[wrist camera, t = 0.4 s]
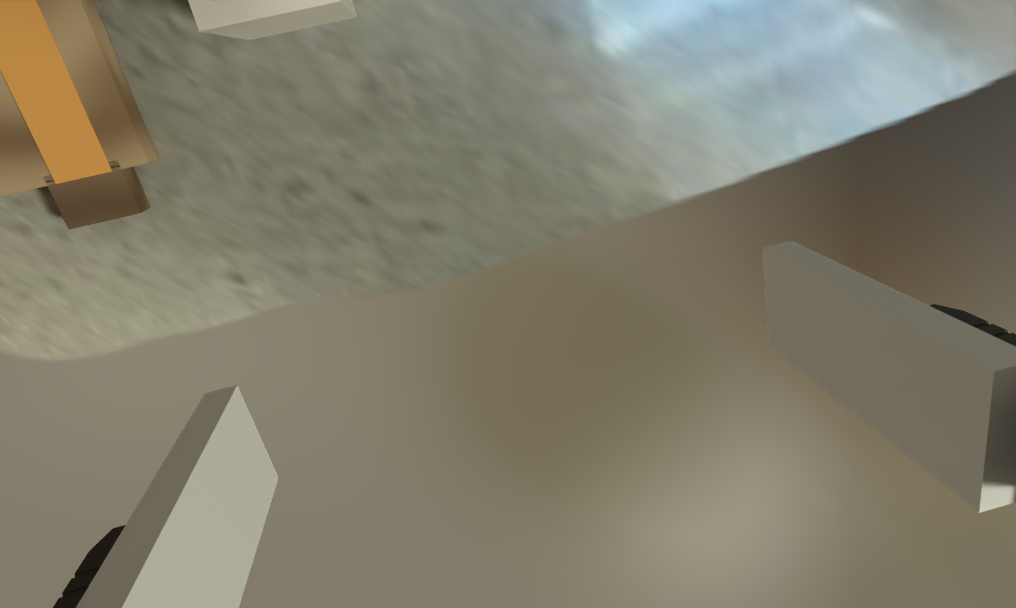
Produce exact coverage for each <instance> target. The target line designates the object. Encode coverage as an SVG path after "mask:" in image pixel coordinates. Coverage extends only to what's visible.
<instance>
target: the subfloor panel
mask: <svg viewBox="0 0 1016 608" xmlns="http://www.w3.org/2000/svg"><path fill="white" fill-rule="evenodd" d="M158 159H159V158H158V156H157V153H156V151H155V149H154V146H153V144H152V141H151V139H150V137H149V134H148V132H147V129H146V127H145V125H144V122H143V120H142V117H141V115H140V112H139V110H138V108H137V105H136V103H135V100H134V98H133V96H132V93H131V91H130V88H129V86H128V83H127V81H126V79H125V76H124V74H123V71H122V69H121V67H120V64H119V62H118V59H117V57H116V54H115V52H114V50H113V47H112V45H111V42H110V40H109V38H108V35H107V33H106V30H105V28H104V25H103V23H102V21H101V18H100V16H99V13H98V11H97V9H96V6H95V4H94V1H93V0H0V197H1V196H5V195H9V194H14V193H18V192H23V191H27V190H32V189H36V188H40V187H45V186H48V188H49V190H50V192H51V194H52V196H53V198H54V200H55V202H56V204H57V206H58V209H59V211H60V213H61V215H62V217H63V219H64V221H65V223H66V225H67V227H68V229H73V228H77V227H82V226H86V225H90V224H95V223H99V222H103V221H108V220H112V219H116V218H121V217H125V216H129V215H134V214H138V213H141V212H143V211H145V210H147V209H149V208H150V205H149V202H148V200H147V198H146V195H145V193H144V191H143V188H142V186H141V184H140V181H139V179H138V177H137V174H136V172H135V170H134V167H133V166H138V165H142V164H147V163H150V162H153V161H156V160H158Z"/></svg>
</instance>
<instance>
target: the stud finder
mask: <svg viewBox="0 0 1016 608" xmlns="http://www.w3.org/2000/svg"><path fill="white" fill-rule="evenodd" d="M188 2H189V4H190V7H191V10H192V13H193V15H194V18H195V21H196V24H197V26H198V29H199V31H200V32H205V33H211V34H217V35H223V36H228V37H234V38H240V39H245V40H253V39H258V38H262V37H267V36H271V35H276V34H281V33H285V32H290V31H295V30H299V29H304V28H309V27H313V26H318V25H322V24H327V23H332V22H336V21H341V20H346V19H350V18H355V17H357V16H356V12H355V9H354V5H353V1H352V0H188Z"/></svg>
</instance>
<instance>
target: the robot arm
mask: <svg viewBox="0 0 1016 608" xmlns="http://www.w3.org/2000/svg"><path fill="white" fill-rule="evenodd" d="M762 250H763V269H764V287H765V305H766V323H767V340H768V346H769V347H770V348H772V349H773V350H774V351H776V352H777V353H778V354H779V355H781V356H782V357H783V358H784V359H786V360H787V361H788V362H790V363H791V364H792V365H793V366H794V367H796V368H797V369H798V370H800V371H801V372H802V373H803V374H805V375H806V376H807V377H808V378H810V379H811V380H812V381H813V382H815V383H816V384H817V385H819V386H820V387H821V388H822V389H823V390H825V391H826V392H827V393H829V394H830V395H831V396H832V397H834V398H835V399H836V400H837V401H839V402H840V403H841V404H842V405H844V406H845V407H846V408H847V409H849V410H850V411H851V412H853V413H854V414H855V415H856V416H858V417H859V418H860V419H861V420H863V421H864V422H865V423H866V424H868V425H869V426H871V427H872V428H873V429H874V430H875V431H876V432H878V433H879V434H880V435H882V436H883V437H884V438H885V439H887V440H888V441H889V442H890V443H892V444H893V445H894V446H895V447H897V448H898V449H899V450H901V451H902V452H903V453H904V454H906V455H907V456H908V457H909V458H911V459H912V460H913V461H914V462H916V463H917V464H918V465H919V466H921V467H922V468H923V469H925V470H926V471H927V472H928V473H930V474H931V475H932V476H933V477H935V478H936V479H937V480H938V481H940V482H941V483H942V484H943V485H945V486H946V487H947V488H948V489H950V490H951V491H952V492H954V493H955V494H956V495H957V496H959V497H960V498H961V499H962V500H964V501H965V502H966V503H967V504H969V505H970V506H971V507H972V508H974V509H975V510H976V511H977V512H979V513H980V512H984V511H987V510H990V509H994V508H997V507H1001V506H1004V505H1008V504H1011V503H1015V502H1016V334H1014V333H1010V334H1009V333H1008V331H1007V330H1005V329H1003V328H1001V327H998V326H996V325H994V324H990V325H989V324H988V322H987V321H985V320H983V319H981V318H978V317H976V316H974V315H972V314H970V313H967V312H965V311H962V310H957V309H953V308H949V307H944V306H940V305H935V304H933V305H929V306H928V305H926V304H924V303H922V302H920V301H918V300H916V299H913V298H912V297H909V296H907V295H905V294H903V293H901V292H899V291H897V290H895V289H892V288H890V287H888V286H886V285H884V284H882V283H880V282H878V281H876V280H873V279H871V278H869V277H867V276H865V275H863V274H861V273H858V272H857V271H854V270H852V269H850V268H848V267H846V266H844V265H841V264H840V263H837V262H835V261H833V260H831V259H829V258H827V257H825V256H823V255H821V254H818V253H816V252H814V251H812V250H810V249H808V248H806V247H804V246H801V245H799V244H797V243H795V242H793V241H788V242H785V243H781V244H777V245H773V246H770V247H765V248H763V249H762ZM277 481H278V476H277V474H276V471H275V469H274V467H273V465H272V462H271V461H270V458H269V456H268V453H267V451H266V449H265V447H264V444H263V442H262V440H261V438H260V435H259V433H258V431H257V429H256V426H255V424H254V422H253V420H252V417H251V415H250V413H249V411H248V408H247V406H246V404H245V402H244V399H243V397H242V395H241V393H240V390H239V388H238V386H237V385H236V386H232V387H228V388H225V389H221V390H217V391H213V392H209V393H205V394H204V396H203V398H202V399H201V401H200V403H199V404H198V406H197V408H196V409H195V411H194V412H193V414H192V416H191V418H190V419H189V421H188V422H187V424H186V426H185V427H184V429H183V431H182V432H181V434H180V436H179V438H178V439H177V441H176V443H175V444H174V446H173V447H172V449H171V451H170V453H169V454H168V456H167V457H166V459H165V461H164V462H163V464H162V466H161V467H160V469H159V471H158V472H157V474H156V476H155V478H154V479H153V481H152V482H151V484H150V486H149V487H148V489H147V491H146V492H145V494H144V496H143V497H142V499H141V501H140V502H139V504H138V506H137V507H136V509H135V511H134V512H133V514H132V515H131V517H130V519H129V520H128V522H127V524H126V525H124V526H121V527H117V528H113V529H112V530H111V531H110V532H109V533H108V534H107V535H106V536H105V537H104V538H103V539H102V540H100V541H99V542H98V543H97V544H96V545H95V546H94V547H93V548H92V549H91V550H90V551H89V553H88V554H87V556H86V557H85V559H84V560H83V562H82V563H81V565H80V566H79V568H78V569H77V571H76V573H75V578H73V579H71V580H70V582H69V584H68V585H67V587H66V588H65V590H64V591H63V593H62V594H63V597H62V598H59V599H58V601H57V602H56V604H55V605H54V607H53V608H239V605H240V602H241V598H242V595H243V591H244V589H245V585H246V582H247V579H248V575H249V572H250V569H251V566H252V562H253V559H254V556H255V552H256V549H257V546H258V542H259V540H260V536H261V533H262V530H263V526H264V523H265V520H266V517H267V513H268V510H269V507H270V504H271V500H272V497H273V494H274V490H275V487H276V484H277Z"/></svg>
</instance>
